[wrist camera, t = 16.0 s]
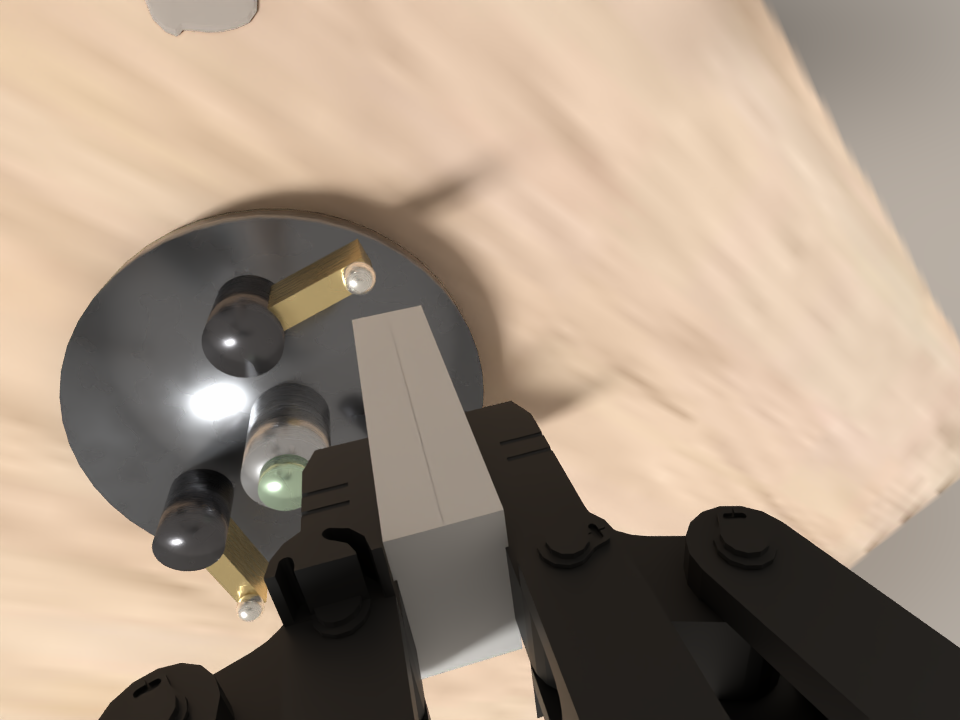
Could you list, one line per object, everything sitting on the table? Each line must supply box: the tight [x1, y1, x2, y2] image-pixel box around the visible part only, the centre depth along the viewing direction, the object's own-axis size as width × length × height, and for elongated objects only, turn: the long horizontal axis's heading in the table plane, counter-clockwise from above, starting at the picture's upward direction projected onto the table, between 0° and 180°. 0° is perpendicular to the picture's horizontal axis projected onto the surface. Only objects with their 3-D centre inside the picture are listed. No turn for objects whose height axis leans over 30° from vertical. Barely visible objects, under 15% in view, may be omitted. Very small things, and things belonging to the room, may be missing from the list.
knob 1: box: [152, 469, 269, 622], centre depth 32 cm, size 8×3×4 cm, turn 20°
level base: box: [60, 209, 484, 562], centre depth 30 cm, size 21×21×8 cm
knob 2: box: [201, 239, 376, 378], centre depth 26 cm, size 8×3×4 cm, turn 115°
